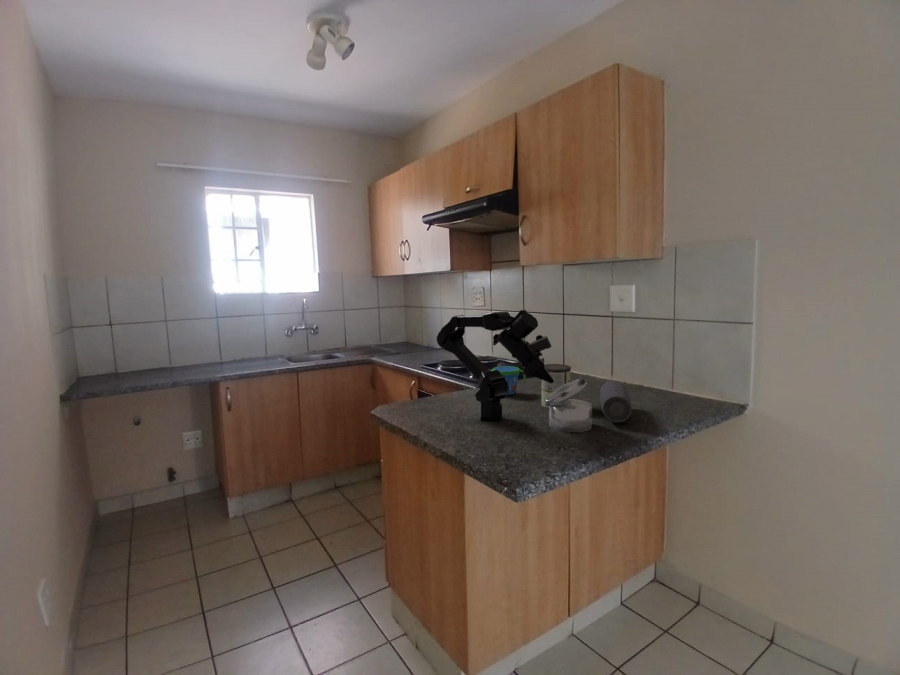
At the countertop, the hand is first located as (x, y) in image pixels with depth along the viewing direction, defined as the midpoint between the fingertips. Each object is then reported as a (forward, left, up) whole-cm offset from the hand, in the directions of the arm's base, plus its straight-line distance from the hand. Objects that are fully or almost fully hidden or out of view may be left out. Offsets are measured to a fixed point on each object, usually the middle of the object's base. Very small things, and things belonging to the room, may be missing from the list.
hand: (552, 382), depth 134 cm
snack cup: (-15, +39, -14) cm, 44 cm away
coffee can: (+3, +24, -14) cm, 27 cm away
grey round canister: (+5, +1, -14) cm, 15 cm away
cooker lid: (+4, +1, -4) cm, 5 cm away
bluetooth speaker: (+21, +13, -14) cm, 28 cm away
